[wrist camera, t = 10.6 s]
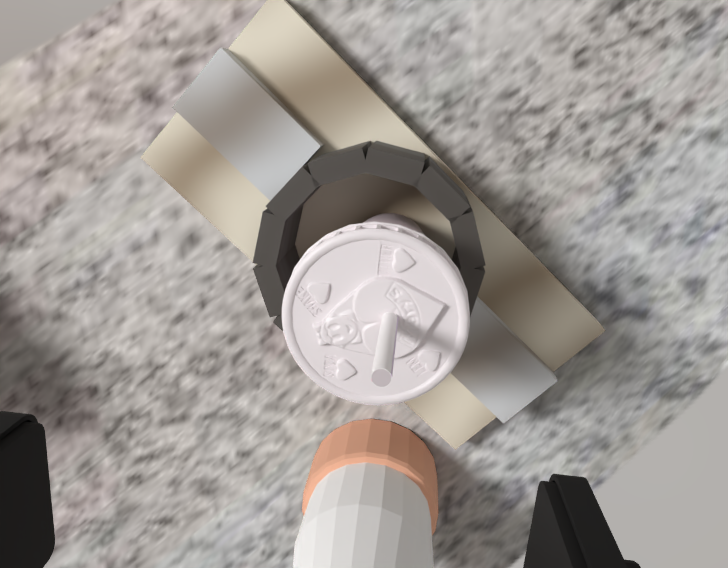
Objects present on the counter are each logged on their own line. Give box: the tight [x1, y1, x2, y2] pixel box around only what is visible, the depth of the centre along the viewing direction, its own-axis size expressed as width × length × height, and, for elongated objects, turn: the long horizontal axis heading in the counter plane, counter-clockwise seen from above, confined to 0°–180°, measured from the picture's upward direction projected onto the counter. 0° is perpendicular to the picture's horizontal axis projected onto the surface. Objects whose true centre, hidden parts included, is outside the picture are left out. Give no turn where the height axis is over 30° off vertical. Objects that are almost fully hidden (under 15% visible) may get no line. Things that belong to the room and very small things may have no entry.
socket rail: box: [140, 0, 605, 450], centre depth 27 cm, size 22×10×6 cm, turn 46°
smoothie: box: [282, 213, 470, 405], centre depth 22 cm, size 6×6×14 cm
